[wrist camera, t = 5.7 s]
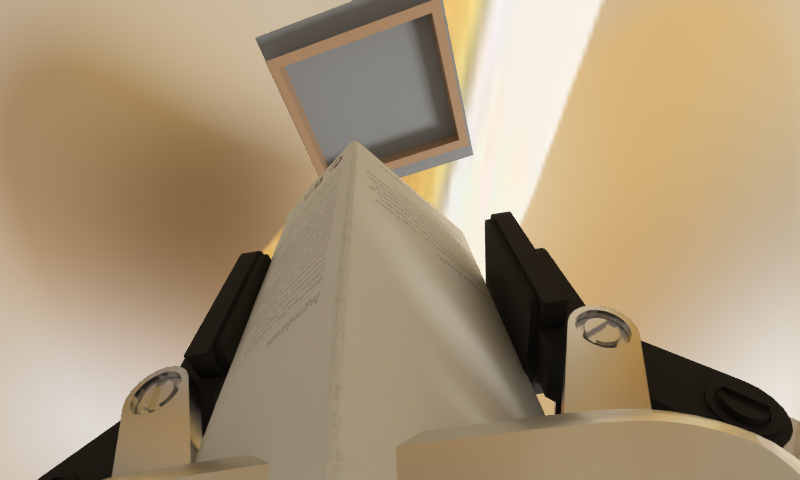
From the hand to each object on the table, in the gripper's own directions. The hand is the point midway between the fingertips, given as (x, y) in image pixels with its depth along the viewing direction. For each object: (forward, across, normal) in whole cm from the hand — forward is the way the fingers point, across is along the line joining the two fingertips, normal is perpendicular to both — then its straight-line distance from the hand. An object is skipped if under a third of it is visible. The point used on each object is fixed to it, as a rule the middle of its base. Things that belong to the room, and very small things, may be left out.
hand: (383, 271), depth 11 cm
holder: (+18, 0, -2) cm, 18 cm away
